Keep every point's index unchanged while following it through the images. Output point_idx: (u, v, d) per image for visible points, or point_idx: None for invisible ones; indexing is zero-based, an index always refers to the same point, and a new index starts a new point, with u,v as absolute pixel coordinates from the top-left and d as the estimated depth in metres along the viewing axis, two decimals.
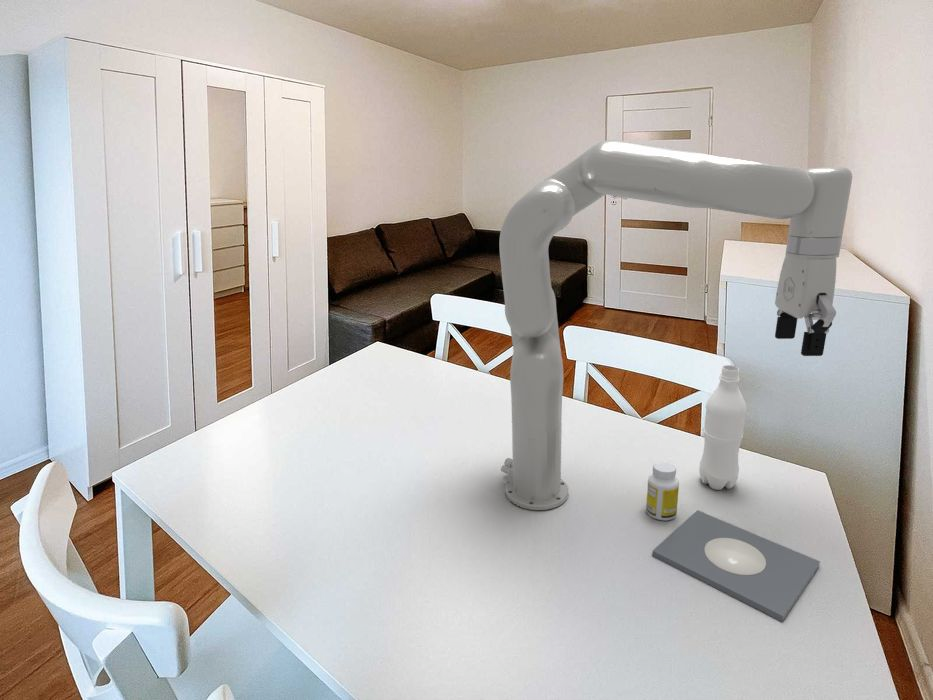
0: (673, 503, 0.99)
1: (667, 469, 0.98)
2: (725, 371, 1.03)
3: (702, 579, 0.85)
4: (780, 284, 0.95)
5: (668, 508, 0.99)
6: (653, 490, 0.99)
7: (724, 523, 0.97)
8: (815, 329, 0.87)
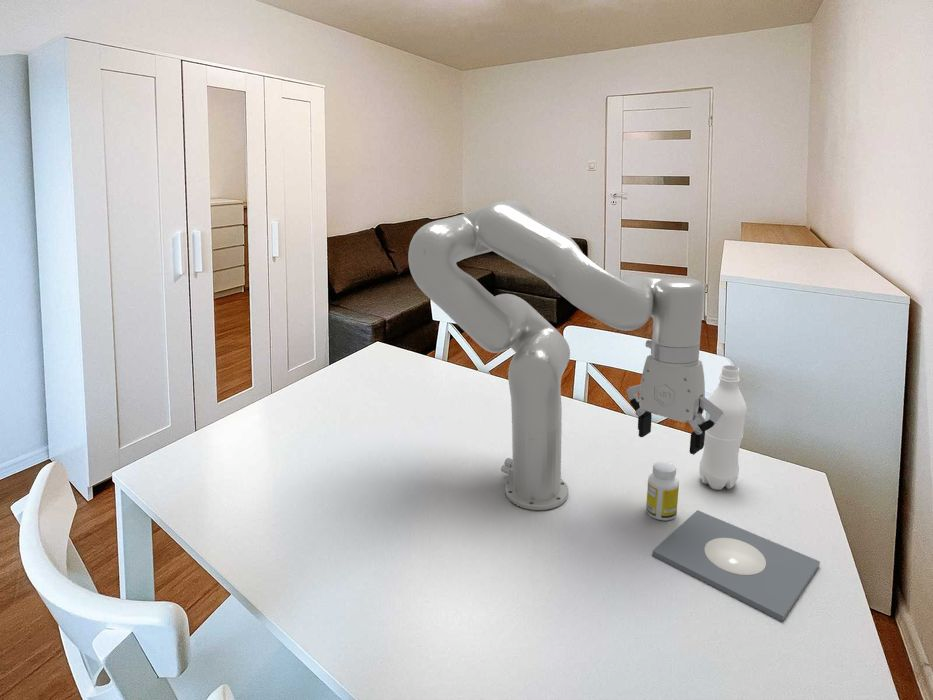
0: (673, 503, 0.99)
1: (667, 469, 0.98)
2: (725, 371, 1.03)
3: (702, 579, 0.85)
4: (646, 388, 0.95)
5: (668, 508, 0.99)
6: (653, 490, 0.99)
7: (724, 523, 0.97)
8: (703, 429, 0.91)
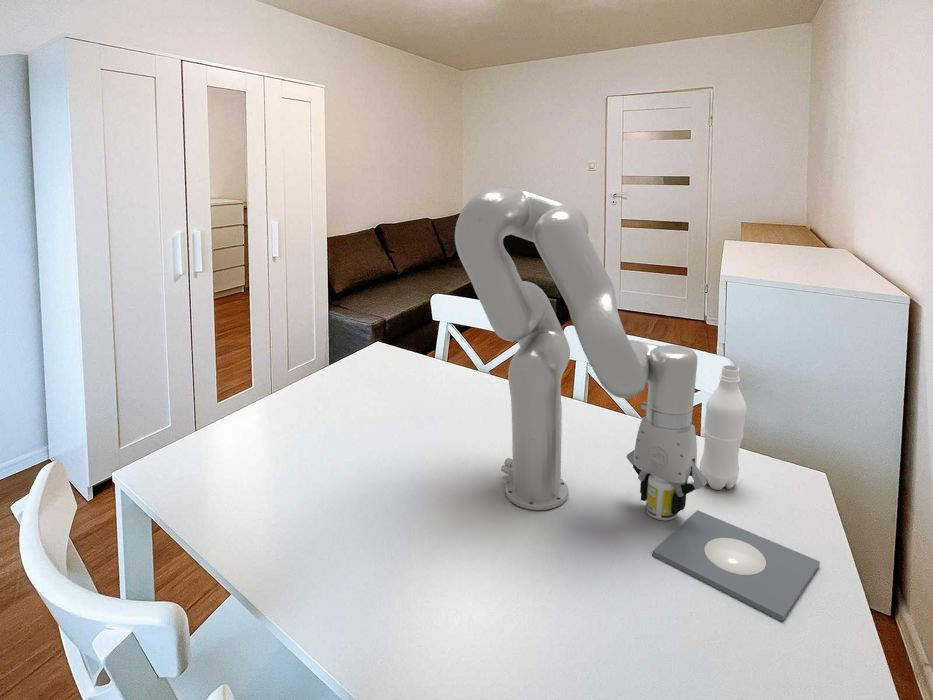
0: None
1: None
2: (725, 371, 1.03)
3: (702, 579, 0.85)
4: (641, 449, 0.99)
5: (668, 508, 0.99)
6: (653, 490, 0.99)
7: (724, 523, 0.97)
8: (684, 492, 0.97)
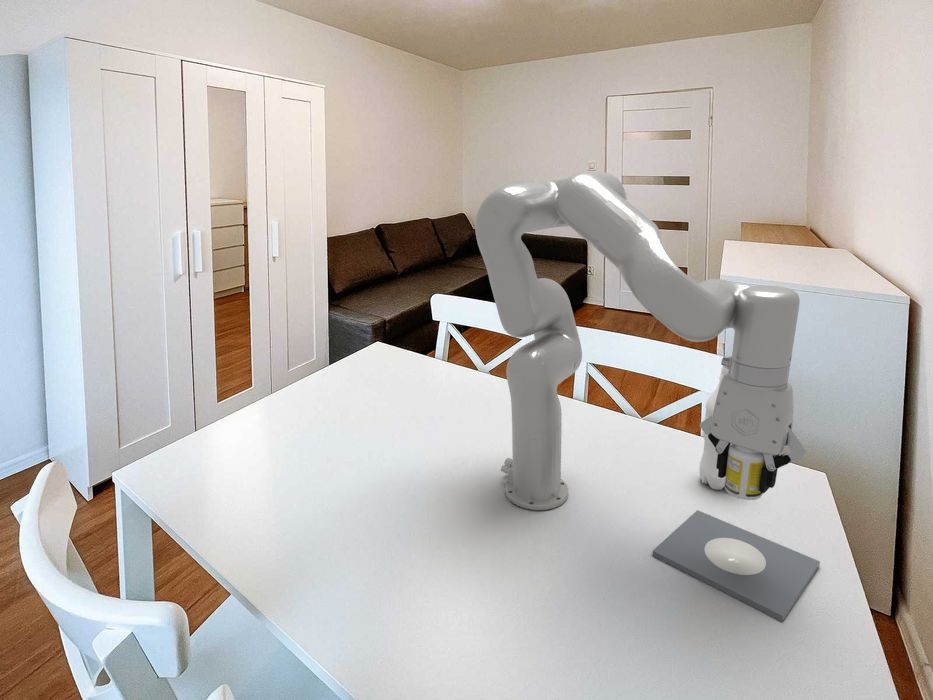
0: None
1: None
2: (725, 371, 1.03)
3: (702, 579, 0.85)
4: (722, 414, 0.82)
5: (755, 485, 0.82)
6: (736, 463, 0.82)
7: (724, 523, 0.97)
8: (777, 465, 0.80)
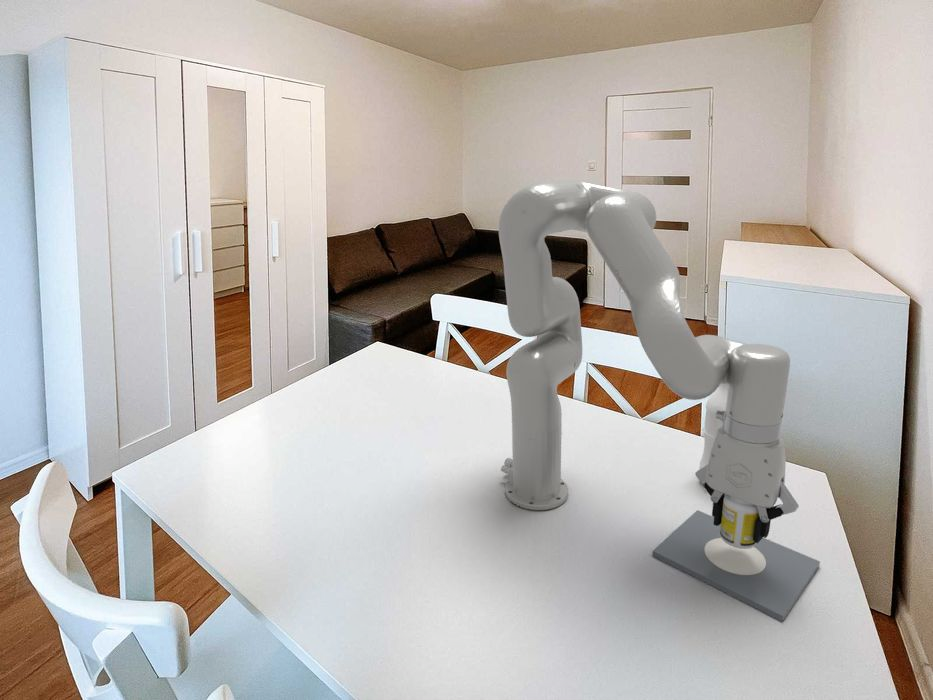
0: None
1: None
2: None
3: (702, 579, 0.85)
4: (716, 466, 0.84)
5: (750, 535, 0.84)
6: (731, 513, 0.85)
7: None
8: (770, 517, 0.82)
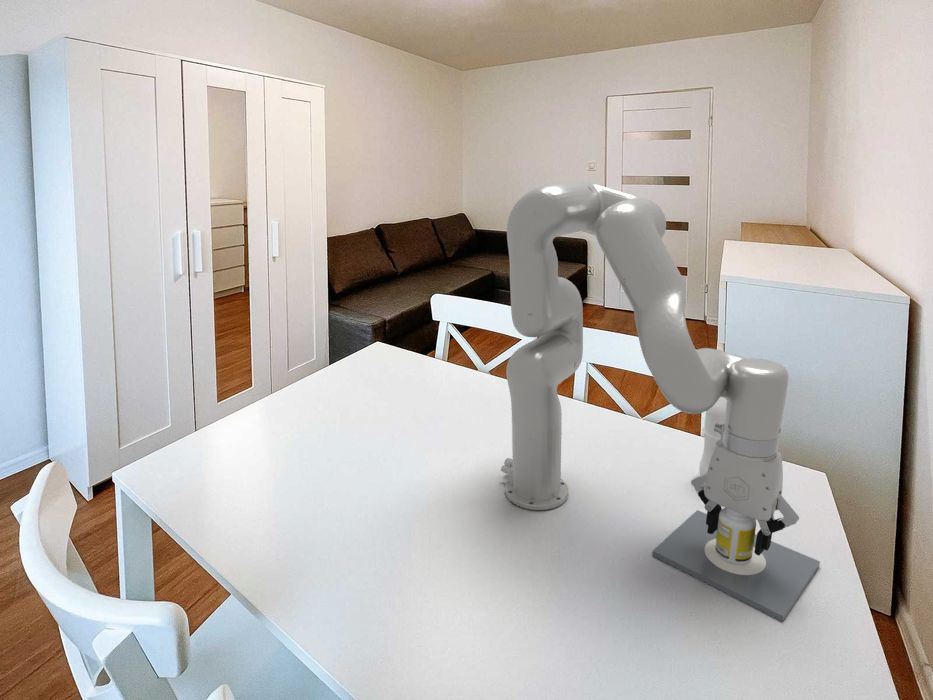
0: (750, 545, 0.86)
1: None
2: None
3: (702, 579, 0.85)
4: (714, 478, 0.85)
5: (744, 551, 0.86)
6: (726, 529, 0.86)
7: None
8: (772, 530, 0.82)
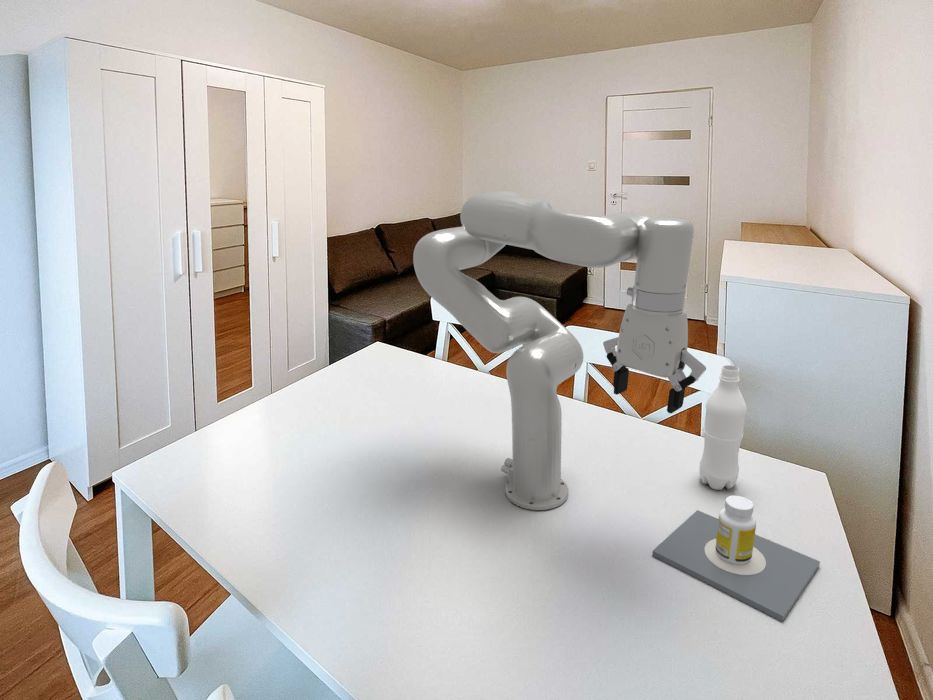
0: (750, 545, 0.86)
1: (744, 506, 0.85)
2: (725, 371, 1.03)
3: (702, 579, 0.85)
4: (624, 340, 0.87)
5: (744, 551, 0.86)
6: (726, 529, 0.86)
7: None
8: (683, 385, 0.84)
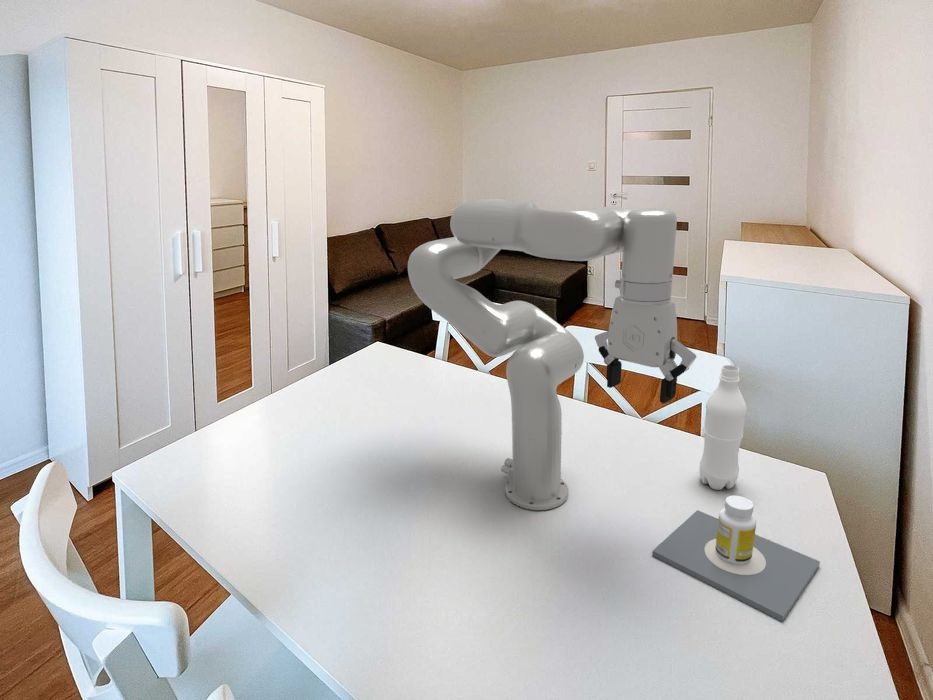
0: (750, 545, 0.86)
1: (743, 506, 0.85)
2: (725, 371, 1.03)
3: (702, 579, 0.85)
4: (614, 332, 0.88)
5: (744, 551, 0.86)
6: (726, 529, 0.86)
7: None
8: (674, 375, 0.84)
